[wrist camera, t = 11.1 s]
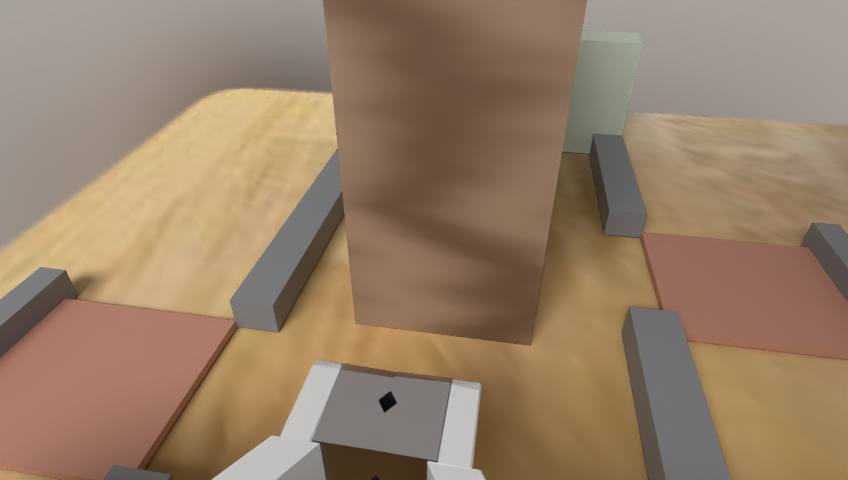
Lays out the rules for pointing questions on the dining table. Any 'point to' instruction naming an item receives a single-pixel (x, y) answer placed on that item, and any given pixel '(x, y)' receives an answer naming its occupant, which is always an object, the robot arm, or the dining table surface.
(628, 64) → the green panel rail frame
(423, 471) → the robot arm
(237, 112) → the dining table surface
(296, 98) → the dining table surface
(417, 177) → the walnut block
